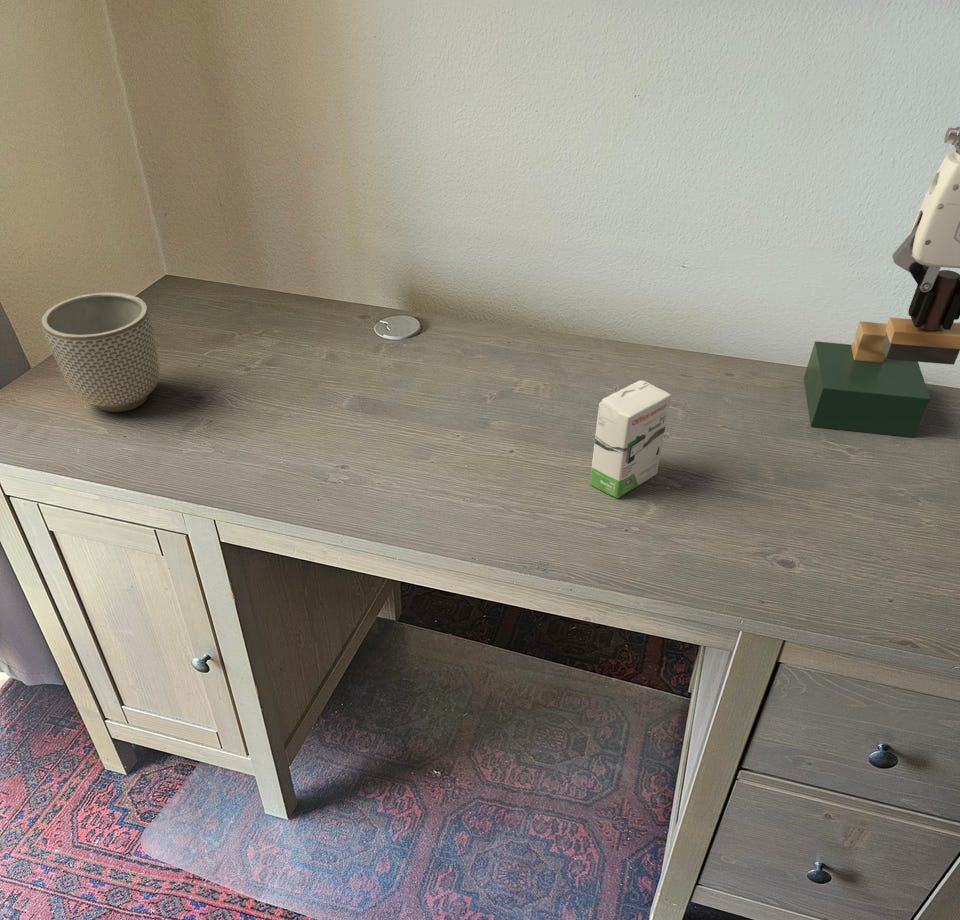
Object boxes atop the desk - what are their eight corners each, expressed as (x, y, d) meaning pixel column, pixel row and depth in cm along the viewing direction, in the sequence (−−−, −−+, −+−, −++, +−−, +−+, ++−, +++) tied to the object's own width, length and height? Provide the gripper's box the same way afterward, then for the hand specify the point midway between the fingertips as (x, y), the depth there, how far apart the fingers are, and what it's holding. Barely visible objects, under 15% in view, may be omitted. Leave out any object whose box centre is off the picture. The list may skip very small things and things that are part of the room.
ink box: (616, 500, 109) (629, 417, 100) (587, 483, 111) (596, 401, 103) (659, 473, 113) (674, 392, 105) (629, 458, 115) (642, 377, 107)
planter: (128, 367, 132) (103, 283, 122) (191, 394, 126) (169, 308, 117) (51, 406, 124) (17, 318, 114) (115, 436, 118) (85, 347, 109)
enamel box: (901, 388, 129) (916, 350, 125) (916, 438, 119) (933, 399, 115) (803, 378, 131) (814, 340, 127) (810, 426, 121) (822, 388, 117)
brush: (949, 351, 102) (983, 270, 95) (956, 366, 99) (991, 283, 92) (879, 345, 103) (908, 265, 96) (884, 359, 100) (913, 278, 93)
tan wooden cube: (879, 350, 125) (888, 323, 122) (883, 363, 122) (892, 336, 119) (850, 347, 125) (859, 320, 122) (853, 360, 123) (862, 333, 120)
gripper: (921, 150, 83) (861, 332, 96) (1099, 160, 81) (1012, 344, 95) (908, 128, 88) (852, 303, 102) (1075, 137, 87) (996, 314, 100)
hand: (930, 322), depth 98 cm, fingers closed on brush, 2 cm apart
